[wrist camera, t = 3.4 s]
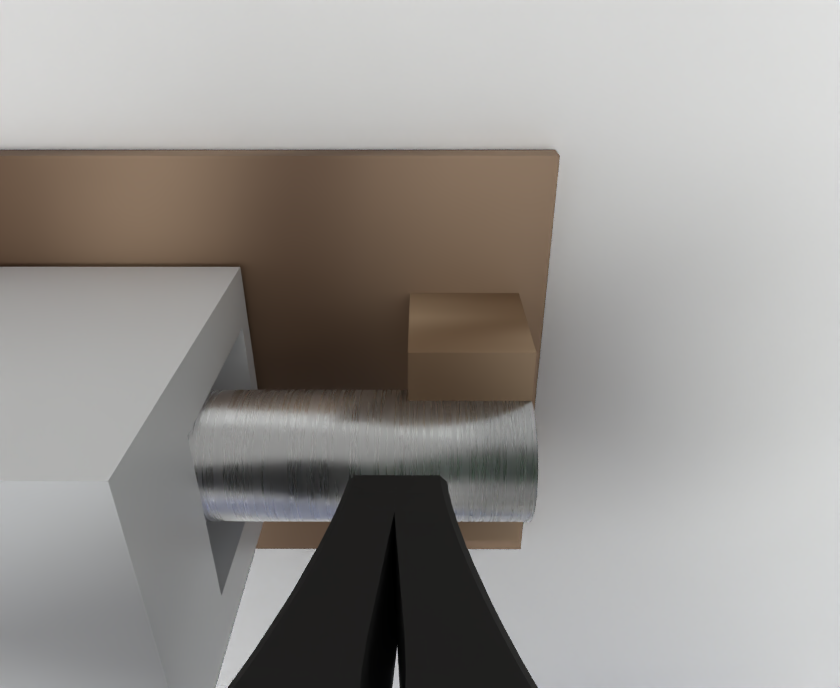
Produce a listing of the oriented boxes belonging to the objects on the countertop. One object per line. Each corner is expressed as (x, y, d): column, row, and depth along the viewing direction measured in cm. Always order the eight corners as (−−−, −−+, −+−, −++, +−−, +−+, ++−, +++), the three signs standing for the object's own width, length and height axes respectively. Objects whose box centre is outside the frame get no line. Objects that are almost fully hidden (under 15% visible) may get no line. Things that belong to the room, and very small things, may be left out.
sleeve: (239, 266, 12) (107, 481, 7) (272, 491, 14) (192, 767, 9) (-41, 266, 12) (-377, 479, 7) (40, 491, 14) (-162, 766, 9)
